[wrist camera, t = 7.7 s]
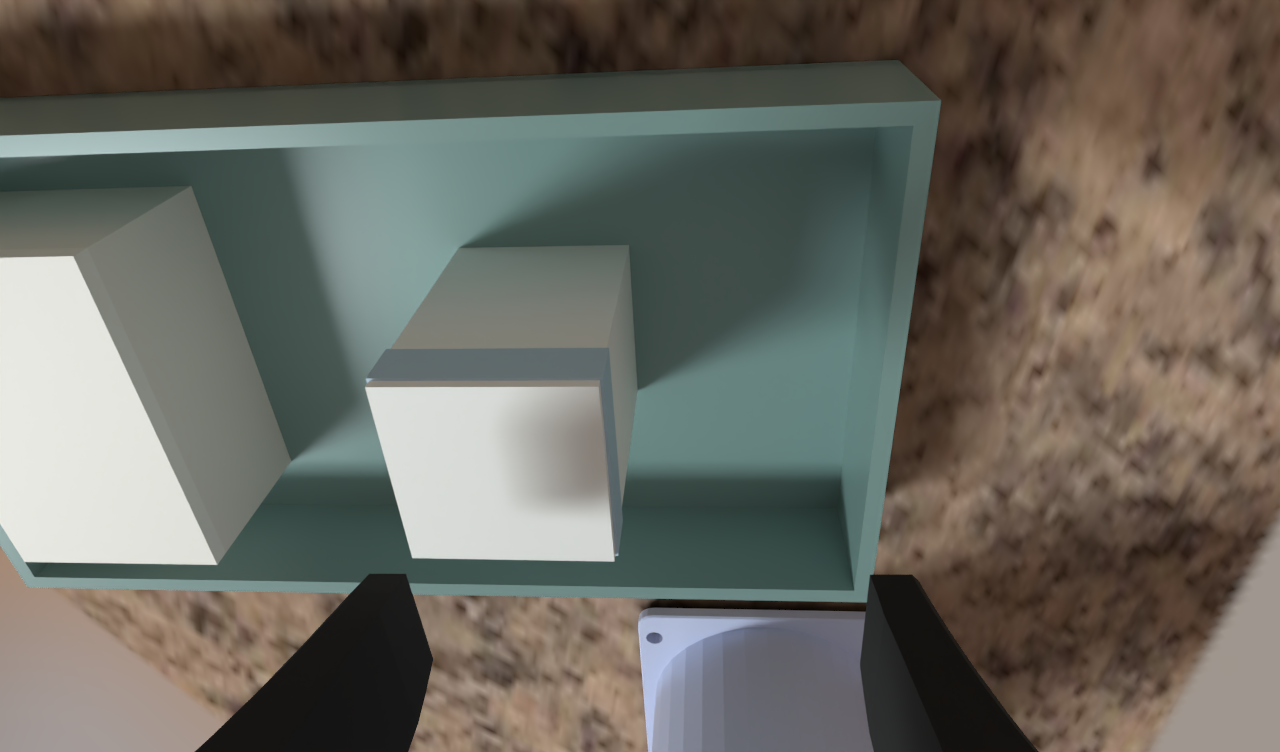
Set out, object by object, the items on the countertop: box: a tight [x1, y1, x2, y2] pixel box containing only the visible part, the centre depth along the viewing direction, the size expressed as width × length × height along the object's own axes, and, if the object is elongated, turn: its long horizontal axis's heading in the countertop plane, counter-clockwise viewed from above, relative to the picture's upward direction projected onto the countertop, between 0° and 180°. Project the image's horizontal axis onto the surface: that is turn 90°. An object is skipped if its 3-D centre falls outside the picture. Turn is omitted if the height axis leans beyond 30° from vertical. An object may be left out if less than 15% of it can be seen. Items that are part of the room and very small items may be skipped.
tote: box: [0, 60, 941, 602], centre depth 19 cm, size 12×22×4 cm, turn 93°
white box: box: [0, 186, 291, 565], centre depth 19 cm, size 8×5×4 cm, turn 3°
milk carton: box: [365, 245, 638, 562], centre depth 17 cm, size 4×4×6 cm
